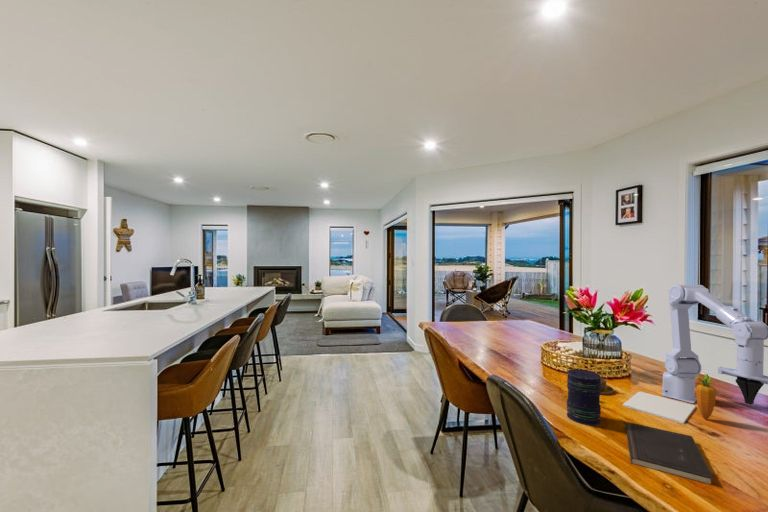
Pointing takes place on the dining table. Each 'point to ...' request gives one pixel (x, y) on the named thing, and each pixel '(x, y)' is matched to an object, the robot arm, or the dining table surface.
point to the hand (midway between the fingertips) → (749, 403)
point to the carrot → (705, 397)
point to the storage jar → (583, 396)
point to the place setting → (603, 386)
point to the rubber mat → (660, 407)
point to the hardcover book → (666, 452)
